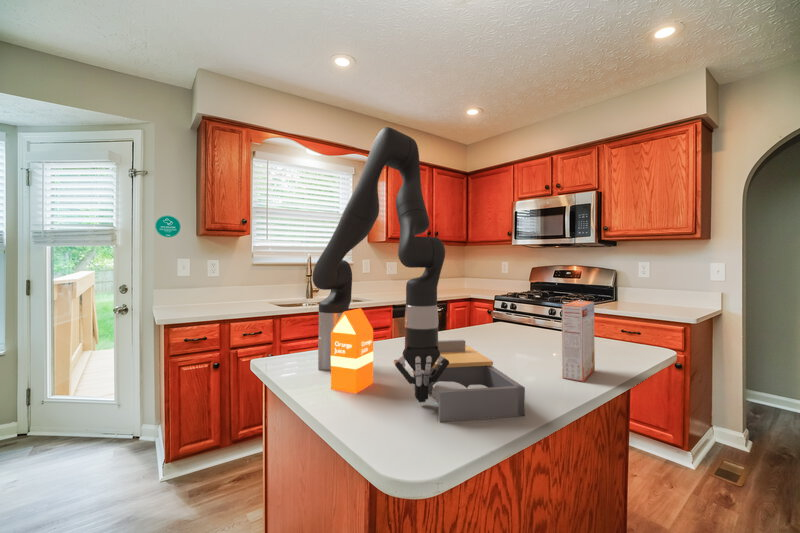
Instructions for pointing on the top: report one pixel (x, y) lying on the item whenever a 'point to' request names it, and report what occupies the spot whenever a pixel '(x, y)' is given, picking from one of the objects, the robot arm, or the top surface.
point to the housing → (479, 394)
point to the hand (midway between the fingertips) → (421, 400)
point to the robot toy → (450, 387)
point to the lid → (461, 354)
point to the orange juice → (352, 352)
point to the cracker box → (578, 340)
